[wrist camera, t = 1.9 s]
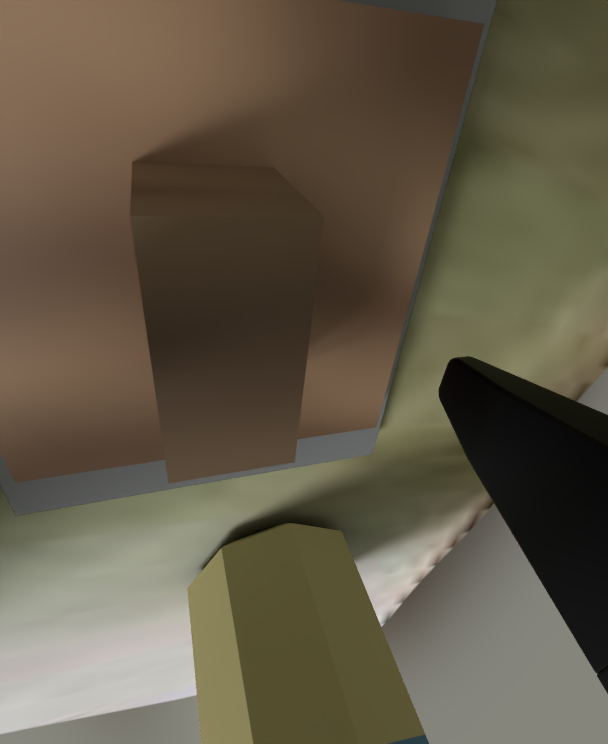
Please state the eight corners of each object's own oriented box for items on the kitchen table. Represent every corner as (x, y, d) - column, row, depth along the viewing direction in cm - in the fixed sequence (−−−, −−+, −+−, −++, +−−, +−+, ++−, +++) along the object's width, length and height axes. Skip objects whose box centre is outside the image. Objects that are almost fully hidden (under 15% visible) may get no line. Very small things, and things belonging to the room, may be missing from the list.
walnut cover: (363, 406, 17) (421, 502, 14) (22, 453, 14) (-17, 598, 10) (454, 24, 10) (623, 18, 7) (-205, -78, 7) (-591, -205, 3)
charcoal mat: (363, 438, 20) (372, 454, 19) (21, 493, 16) (15, 515, 15) (508, -145, 9) (540, -160, 9) (-405, -419, 5) (-495, -495, 5)
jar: (180, 617, 25) (215, 1093, 14) (193, 521, 20) (265, 1145, 9) (323, 589, 28) (445, 954, 17) (365, 501, 23) (576, 933, 12)
